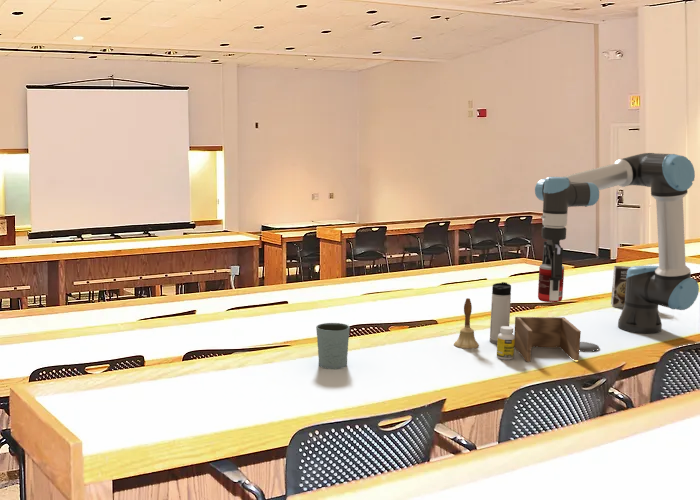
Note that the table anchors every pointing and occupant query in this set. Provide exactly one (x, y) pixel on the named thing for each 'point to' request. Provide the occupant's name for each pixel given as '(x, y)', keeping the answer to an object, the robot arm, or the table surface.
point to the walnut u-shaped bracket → (546, 335)
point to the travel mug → (499, 309)
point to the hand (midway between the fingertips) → (550, 297)
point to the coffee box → (619, 286)
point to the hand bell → (467, 330)
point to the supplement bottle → (506, 343)
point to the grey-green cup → (332, 345)
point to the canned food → (547, 283)
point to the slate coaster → (588, 346)
